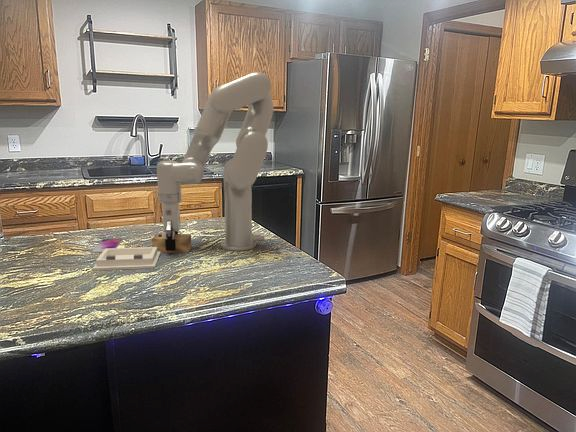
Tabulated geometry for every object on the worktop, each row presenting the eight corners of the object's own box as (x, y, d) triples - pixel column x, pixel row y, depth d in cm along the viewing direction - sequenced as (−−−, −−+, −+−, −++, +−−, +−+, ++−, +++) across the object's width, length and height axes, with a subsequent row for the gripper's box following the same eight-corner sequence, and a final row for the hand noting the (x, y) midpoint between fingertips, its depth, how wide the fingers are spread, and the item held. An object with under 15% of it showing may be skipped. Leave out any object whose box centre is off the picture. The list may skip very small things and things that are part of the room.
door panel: (191, 247, 152) (190, 232, 151) (188, 253, 146) (187, 237, 145) (157, 247, 152) (156, 232, 151) (152, 252, 146) (151, 237, 145)
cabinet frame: (160, 253, 145) (160, 242, 144) (154, 268, 131) (154, 256, 130) (104, 255, 142) (103, 244, 141) (92, 270, 129) (91, 258, 128)
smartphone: (89, 252, 144) (102, 239, 158) (89, 254, 144) (102, 241, 158) (112, 251, 144) (122, 238, 159) (112, 253, 145) (122, 240, 159)
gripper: (179, 203, 137) (181, 253, 141) (183, 192, 154) (185, 238, 158) (154, 203, 136) (157, 254, 140) (161, 193, 152) (164, 239, 157)
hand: (172, 245), depth 149 cm, fingers open, 9 cm apart
